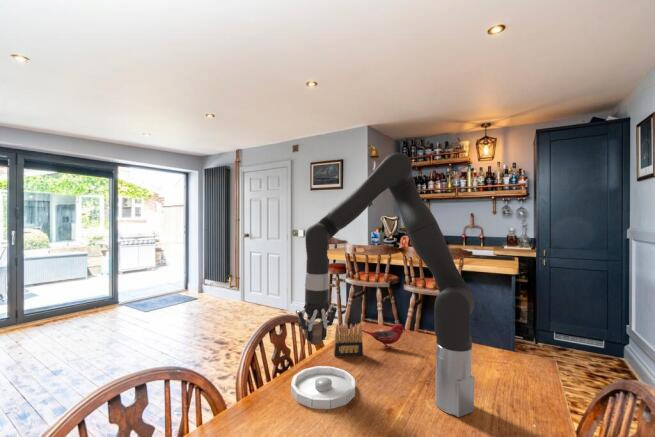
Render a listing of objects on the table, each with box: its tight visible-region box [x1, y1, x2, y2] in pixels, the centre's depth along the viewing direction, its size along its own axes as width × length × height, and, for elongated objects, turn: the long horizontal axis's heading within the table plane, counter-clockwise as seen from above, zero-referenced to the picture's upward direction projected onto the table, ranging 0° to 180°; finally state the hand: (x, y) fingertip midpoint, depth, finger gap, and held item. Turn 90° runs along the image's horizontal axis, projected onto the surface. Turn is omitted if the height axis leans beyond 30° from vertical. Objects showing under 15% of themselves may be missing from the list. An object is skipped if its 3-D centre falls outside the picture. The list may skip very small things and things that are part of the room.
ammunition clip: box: [333, 323, 364, 358], centre depth 121 cm, size 11×2×12 cm, turn 96°
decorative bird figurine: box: [362, 323, 407, 349], centre depth 128 cm, size 3×18×10 cm, turn 78°
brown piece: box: [309, 320, 323, 346], centre depth 102 cm, size 4×4×6 cm
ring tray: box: [290, 365, 356, 410], centre depth 97 cm, size 19×19×2 cm
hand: (316, 340), depth 102 cm, fingers closed on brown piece, 4 cm apart
